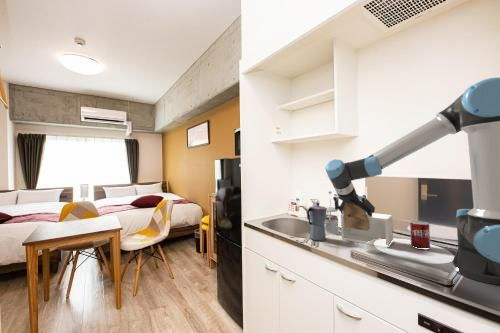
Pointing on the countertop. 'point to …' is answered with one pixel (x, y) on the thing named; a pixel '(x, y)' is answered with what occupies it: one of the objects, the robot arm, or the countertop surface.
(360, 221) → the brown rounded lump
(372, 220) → the white box
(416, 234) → the soda can
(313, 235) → the moka pot
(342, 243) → the countertop surface
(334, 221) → the french press
